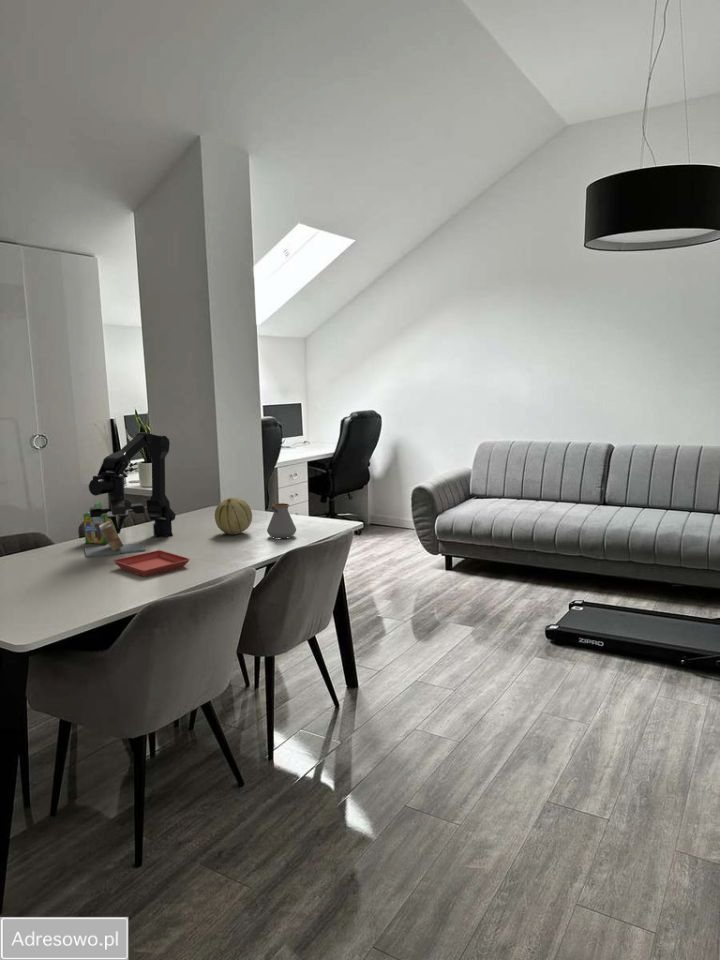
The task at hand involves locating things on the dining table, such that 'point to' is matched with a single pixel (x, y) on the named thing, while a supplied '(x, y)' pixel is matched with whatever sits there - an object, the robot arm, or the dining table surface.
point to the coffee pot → (281, 522)
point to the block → (111, 535)
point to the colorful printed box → (95, 527)
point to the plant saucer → (152, 562)
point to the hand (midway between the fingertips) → (118, 533)
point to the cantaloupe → (233, 516)
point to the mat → (108, 551)
